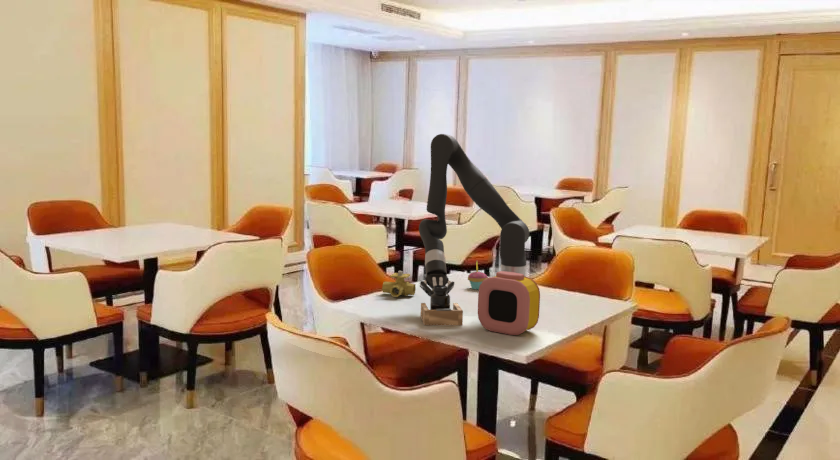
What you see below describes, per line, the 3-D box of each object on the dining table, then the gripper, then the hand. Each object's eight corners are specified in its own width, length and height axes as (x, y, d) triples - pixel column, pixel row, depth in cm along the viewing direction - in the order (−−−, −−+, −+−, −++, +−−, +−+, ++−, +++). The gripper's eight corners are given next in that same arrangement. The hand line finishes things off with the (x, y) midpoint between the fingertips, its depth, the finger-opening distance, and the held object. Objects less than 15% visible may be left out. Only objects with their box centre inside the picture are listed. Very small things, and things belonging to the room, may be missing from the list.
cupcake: (464, 286, 313) (465, 259, 312) (482, 286, 316) (484, 258, 314) (471, 290, 305) (472, 262, 304) (490, 290, 308) (491, 261, 306)
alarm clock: (475, 329, 244) (477, 272, 242) (490, 322, 253) (493, 267, 251) (525, 339, 234) (528, 279, 232) (540, 331, 243) (543, 274, 241)
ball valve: (416, 294, 295) (417, 270, 294) (409, 300, 285) (410, 274, 284) (386, 292, 298) (386, 268, 297) (378, 297, 289) (379, 272, 287)
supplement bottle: (438, 316, 260) (439, 283, 258) (453, 320, 256) (454, 286, 254) (425, 320, 254) (426, 286, 253) (441, 323, 250) (442, 289, 249)
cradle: (420, 316, 259) (420, 301, 258) (456, 316, 260) (457, 302, 260) (424, 325, 247) (424, 309, 247) (462, 325, 249) (462, 309, 248)
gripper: (418, 258, 265) (421, 299, 254) (454, 259, 266) (458, 299, 256) (416, 270, 271) (419, 310, 260) (452, 270, 272) (455, 311, 262)
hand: (438, 305), depth 258 cm, fingers closed
